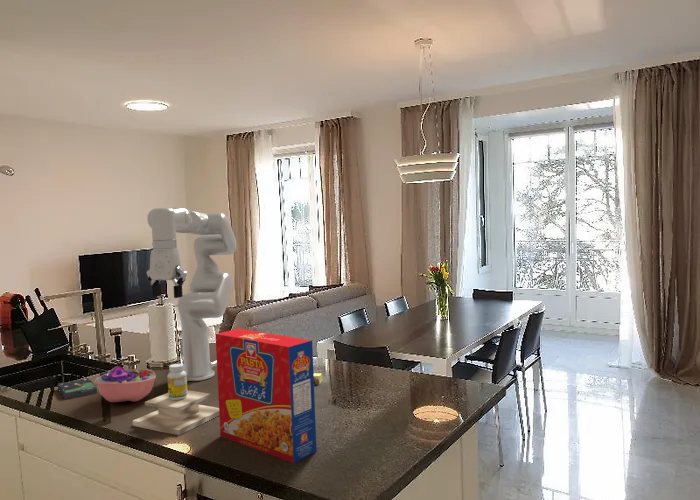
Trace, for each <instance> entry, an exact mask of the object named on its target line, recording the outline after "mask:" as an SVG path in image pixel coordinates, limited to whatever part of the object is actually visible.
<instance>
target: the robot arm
mask: <svg viewBox="0 0 700 500" xmlns="http://www.w3.org/2000/svg"><path fill="white" fill-rule="evenodd" d="M146 217H147V219H146V220H147V224H148V225H149V227H150V228H151V234H152V238H151V239H152V243H151V245H152V249H151V252H150V257H149V258H150V260H149V269H148V270H147V271H146V275H147V276H146V277H148V281H149V282H150V285H151V288H152V290H151V291H152V297H153V298H157V297H161V296H162V286H161V283H160V282H161V281H172V282H173V283H172V284H174V285H173V298H175V299H178V300H177V311H178V315H179V318H180V324H181V337H182V357H183V358H182V359H183V366H184V369H183V371H185V372H186V376H187V382H195V381H196V382H197V381H204V380H207V379H211V378H213V377H214V376H216V375H215V374H216V373H215V370H213V368H214V367H217V360H214V361H211V357H210V340H209V328H208V325H207V324H206V321H204V320H203V319H218V318H221V317H223V316H224V314H225V313H226V310H227V306H228V304H229V300H230V298H231V294H232V290H233V280H232V277H231V275H230V274H229V273H227V272H224V271H220V272H219V266H218V264H217V262H216V261H215V260H214V259H213V258H212V257H211V256H230V255H233V254H234V253H235V252H236V250H237V248H238V247H237V244H238V243H237V239H236V236H235V233H234V230H233V227H232V225H231V223H230V220H229V219H228V217H227V216H226V215H225V214H224V213H222V212H207V213H205V212H200V211H195V210H188V209H186V208H184V207H157V208H155V207H154V208H152V209H151V210H150V211H149V212H148V214H147V216H146ZM177 233H179V234H190V235H197V237H196V238H195V239H194V241H193V251H194V256H195V260H196V268H195V271H194V273H193V275H192V278H191V281H190V284H189V292H186V293H184V294H183V285H184V283H185V281H186V279H187V275H188V273H187V270H184V269H183V268H182V266H181V259H180V253H179V249H178V248H177V247H178V245H177Z"/></svg>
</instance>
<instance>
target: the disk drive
mask: <svg viewBox="0 0 700 500" xmlns="http://www.w3.org/2000/svg"><path fill="white" fill-rule="evenodd" d="M58 389H59V390H60V392H61V393H60V392H59V393H60V394H61V396H62V395H63V396H62V397H64V398H65V399H64V398H63V399H64V400H69V398H70V399H73V398H80V397H85V396H91V395H94V394H97V393H98V387H97V385H96V383H95V384H94V382H93V381H92V380H91V379H90V378H89V377H85V378H80V379H75V380H71V381H68V382H65V381H62V382H58V383H57V390H58ZM59 390H58V391H59Z"/></svg>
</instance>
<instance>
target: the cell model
mask: <svg viewBox="0 0 700 500" xmlns="http://www.w3.org/2000/svg"><path fill="white" fill-rule="evenodd" d="M156 378H157V376H156V373H155V371H153V370H150V369H146V368H144V369H143V368H142V369H141V368H140V369H125V368H124V367H123V366H119V365H118V366H114V367H113V368H112V369H110V370H109V371H108V372H106V373H104V374H102V375H100V376H98V377H96V379H95V380H94V382H95V385H96V387H97V390H98V392H99V395H101V396H102V397H103V398H104V399H105V400H106V401H107V402H110V403H121V402H138V401H141V400H143V399H144V398H146V397H147V396H148V395H149V394H150V393H151V392H152V390H153V386H154V382H155V381H156Z"/></svg>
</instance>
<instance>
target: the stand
mask: <svg viewBox="0 0 700 500" xmlns="http://www.w3.org/2000/svg"><path fill="white" fill-rule="evenodd" d="M209 398H211V393H206V392H201V391H194V390H188V389H187V397H186V398H184V399H181V400H171V399H169V397H168V392H167V393H164V394H162V395H159V396H156V397H154V398H151V399H149V400H147V401H144V406H147V407H153V408H157V410H155V411H153V412H152V411H151V412H150V413H148V414H145V415H143V416H141V417H138V418H136V419H133V420H132V426H133V427H137V428H142V429H147V430H152V431H157V432H161V433H166V434H171V435H176V436H181V435H182V434H185V433H187V432H189V431H191V430H193V429H196V428H197V427H200V426H201V425H203V424H205V422H206V423H208V422H210V421H211V419H212V420H214V419H215V417H216V418H217V416H218V417H219V407H215V406H211V405H210V406H208V405H203V404H199V403H200V402H203V401H206V400H207V399H209ZM213 418H214V419H213ZM209 420H210V421H209ZM207 421H208V422H207Z"/></svg>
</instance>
